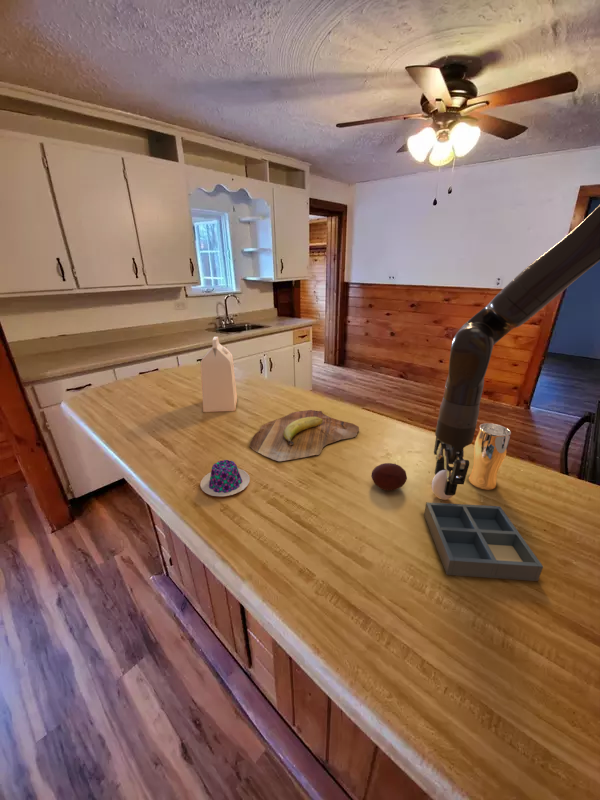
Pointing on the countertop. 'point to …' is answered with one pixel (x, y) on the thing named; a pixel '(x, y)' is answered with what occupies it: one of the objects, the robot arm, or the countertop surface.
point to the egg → (440, 485)
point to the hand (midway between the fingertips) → (444, 484)
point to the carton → (480, 542)
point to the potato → (389, 476)
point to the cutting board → (300, 435)
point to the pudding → (224, 479)
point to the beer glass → (489, 454)
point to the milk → (218, 379)
